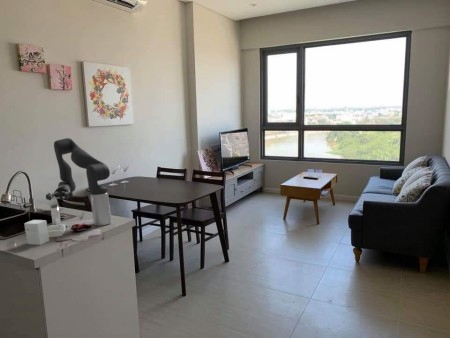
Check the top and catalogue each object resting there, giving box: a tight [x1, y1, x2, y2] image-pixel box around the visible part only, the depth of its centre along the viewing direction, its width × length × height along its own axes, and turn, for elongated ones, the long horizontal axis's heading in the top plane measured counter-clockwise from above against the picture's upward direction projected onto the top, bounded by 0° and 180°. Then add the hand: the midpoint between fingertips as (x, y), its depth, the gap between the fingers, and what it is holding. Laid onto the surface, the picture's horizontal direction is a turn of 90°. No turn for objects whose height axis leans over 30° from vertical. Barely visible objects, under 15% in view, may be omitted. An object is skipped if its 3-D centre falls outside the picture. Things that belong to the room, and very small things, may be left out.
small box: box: [23, 219, 50, 246], centre depth 164 cm, size 8×6×10 cm
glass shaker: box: [50, 203, 62, 225], centre depth 188 cm, size 4×4×12 cm
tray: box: [47, 223, 66, 239], centre depth 176 cm, size 11×11×3 cm
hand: (57, 197), depth 197 cm, fingers open, 8 cm apart
